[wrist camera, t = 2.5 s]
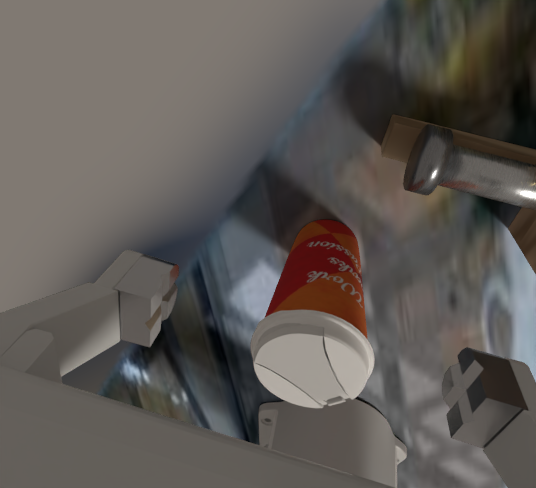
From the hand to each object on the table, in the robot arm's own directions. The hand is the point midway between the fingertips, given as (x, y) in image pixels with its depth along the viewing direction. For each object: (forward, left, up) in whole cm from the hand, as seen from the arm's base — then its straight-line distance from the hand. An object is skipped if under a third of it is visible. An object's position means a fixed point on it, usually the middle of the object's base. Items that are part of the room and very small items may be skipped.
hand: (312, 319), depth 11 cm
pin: (0, -10, -19) cm, 22 cm away
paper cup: (-11, -2, -21) cm, 24 cm away
